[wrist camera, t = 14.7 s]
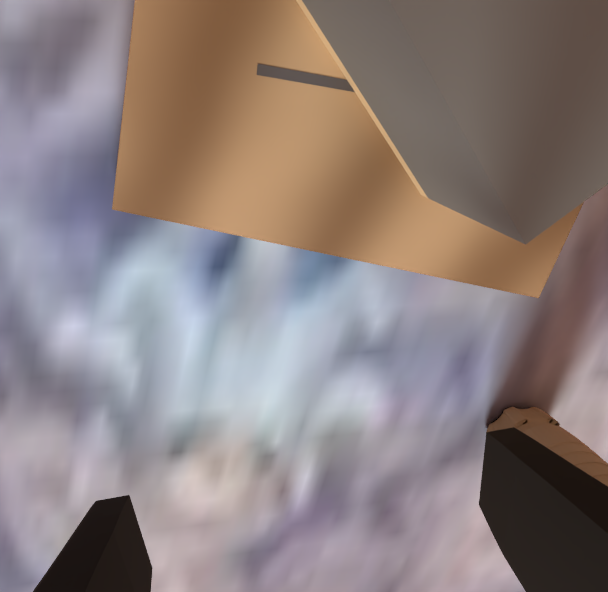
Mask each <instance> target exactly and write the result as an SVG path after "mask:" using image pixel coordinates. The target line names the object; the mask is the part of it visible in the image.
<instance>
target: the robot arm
mask: <svg viewBox="0 0 608 592" xmlns="http://www.w3.org/2000/svg"><path fill="white" fill-rule="evenodd" d="M479 506H480V508H481V510H482V512H483V514H484V516H485V518H486V521H487V523H488V525H489V527H490V529H491V531H492V533H493V535H494V537H495V539H496V541H497V543H498V545H499V547H500V549H501V551H502V553H503V555H504V557H505V558H506V560H507V562H508V563H509V565H510V567H511V568H512V570H513V571H514V573H515V575H516V576H517V578H518V580H519V581H520V583H521V584H522V586H523V588H524V589H525V591H526V592H608V486H606V485H605V484H603V483H601V482H600V481H598V480H597V479H595V478H594V477H592V476H590V475H589V474H587V473H586V472H584V471H583V470H581V469H579V468H578V467H576V466H575V465H573V464H572V463H570V462H568V461H567V460H565V459H564V458H562V457H561V456H559V455H558V454H556V453H554V452H553V451H551V450H550V449H548V448H547V447H545V446H544V445H542V444H540V443H539V442H537V441H536V440H534V439H533V438H531V437H529V436H528V435H526V434H525V433H523V432H521V431H520V430H518V429H516V428H515V427H513V428H507V429H501V430H496V431H490V432H487V433H486V442H485V452H484V461H483V471H482V480H481V490H480V499H479ZM151 578H152V566H151V563H150V559H149V556H148V553H147V550H146V547H145V544H144V540H143V537H142V534H141V531H140V528H139V525H138V521H137V518H136V515H135V512H134V509H133V505H132V502H131V499H130V496H129V495H127V496H122V497H116V498H110V499H105V500H99V501H96V502H95V503H94V504H93V505H92V507H91V508H90V509H89V511H88V512H87V514H86V515H85V517H84V518H83V520H82V521H81V523H80V524H79V526H78V527H77V529H76V530H75V532H74V533H73V534H72V536H71V537H70V539H69V540H68V542H67V543H66V545H65V546H64V548H63V549H62V551H61V552H60V554H59V555H58V556H57V558H56V559H55V561H54V562H53V564H52V565H51V567H50V568H49V569H48V571H47V572H46V574H45V575H44V577H43V578H42V580H41V581H40V582H39V584H38V585H37V587H36V588H35V589H34V591H33V592H151Z"/></svg>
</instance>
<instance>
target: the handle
mask: <svg viewBox="0 0 608 592" xmlns="http://www.w3.org/2000/svg"><path fill="white" fill-rule="evenodd" d="M513 427H515V428H516V429H518V430H520V431H521V432H523V433H525V434H526V435H528V436H529V437H531V438H533V439H534V440H536V441H537V442H539V443H540V444H542V445H544V446H545V447H547V448H548V449H550V450H551V451H553V452H554V453H556V454H558V455H559V456H561V457H562V458H564V459H565V460H567V461H568V462H570V463H572V464H573V465H575V466H576V467H578V468H579V469H581V470H583V471H584V472H586V473H587V474H589V475H590V476H592V477H594V478H595V479H597V480H598V481H600V482H601V483H603V484H605V485H606V486H608V463H606V462H605V461H604V460H603V459H602V458H600V457H599V456H598V455H597V454H596V453H595V452H594V451H592V450H591V449H590V448H589V447H588V446H586V445H585V444H584V443H582V442H581V441H580V440H579V439H577V438H576V437H575V436H573V435H572V434H570V433H569V432H567V431H566V430H564V429H563V428H561V427H559V423H558V422H557V421H556V420H555V419H554V418H552V417H551V416H550V415H549V414H547V413H546V412H544V411H543V410H541V409H539V408H537V407H531V408H528V409H517V408H515V407H510V408H507V409H505V410H504V411H503V413H502V415H501V416H500V417H499V418H498V419H497V420H496V421H495V422H493V423H491V424H489V426H488V429H487V432H490V431H496V430H501V429H507V428H513ZM487 432H486V433H487Z"/></svg>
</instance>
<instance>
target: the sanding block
mask: <svg viewBox="0 0 608 592" xmlns="http://www.w3.org/2000/svg"><path fill="white" fill-rule="evenodd" d="M296 1H297V3H298V4H299V6H300V7H301V9H302V11H303V12H304V14H305V15H306V17H307V18H308V20H309V21H310V23H311V25H312V26H313V28H314V29H315V31H316V32H317V34H318V35H319V37H320V38H321V40H322V42H323V43H324V45H325V46H326V48H327V49H328V51H329V52H330V54H331V56H332V57H333V59H334V60H335V62H336V63H337V65H338V66H339V68H340V70H341V71H342V73H343V74H344V76H345V77H346V79H347V80H348V82H349V84H350V85H351V87H352V88H353V90H354V91H355V93H356V94H357V96H358V98H359V99H360V101H361V102H362V104H363V105H364V107H365V108H366V110H367V112H368V113H369V115H370V116H371V118H372V119H373V121H374V122H375V124H376V126H377V127H378V129H379V130H380V132H381V133H382V135H383V136H384V138H385V140H386V141H387V143H388V144H389V146H390V147H391V149H392V150H393V152H394V154H395V155H396V157H397V158H398V160H399V161H400V163H401V164H402V166H403V168H404V169H405V171H406V172H407V174H408V175H409V177H410V178H411V180H412V182H413V183H414V185H415V186H416V188H417V189H418V191H419V192H420V194H421V195H422V196H424V197H426V198H429V199H431V200H433V201H435V202H437V203H439V204H441V205H443V206H445V207H447V208H450V209H452V210H454V211H456V212H458V213H460V214H462V215H464V216H466V217H469V218H471V219H473V220H475V221H477V222H479V223H481V224H483V225H485V226H487V227H490V228H492V229H494V230H496V231H498V232H500V233H502V234H504V235H506V236H509V237H511V238H513V239H515V240H517V241H519V242H521V243H523V244H525V245H526V244H527V243H529V242H530V241H531V240H533V239H534V238H535V237H537V236H538V235H539V234H541V233H542V232H544V231H545V230H546V229H548V228H549V227H550V226H552V225H553V224H554V223H556V222H557V221H558V220H560V219H561V218H562V217H564V216H565V215H567V214H568V213H569V212H571V211H572V210H573V209H575V208H576V207H577V206H579V205H580V204H581V203H583V202H584V201H585V200H587V199H588V198H590V197H591V196H592V195H594V194H595V193H596V192H598V191H599V190H600V189H602V188H603V187H604V186H606V185H607V184H608V0H296Z"/></svg>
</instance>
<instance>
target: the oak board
mask: <svg viewBox="0 0 608 592" xmlns="http://www.w3.org/2000/svg"><path fill="white" fill-rule="evenodd" d="M583 203H584V202H583ZM583 203H581V204H580V205H579V206H577V207H576V208H575V209H573V210H572V211H571V212H569V213H568V214H567V215H565V216H564V217H562V218H561V219H560V220H558V221H557V222H556V223H554V224H553V225H552V226H550V227H549V228H548V229H546V230H545V231H544V232H542V233H541V234H539V235H538V236H537V237H535V238H534V239H533V240H531V241H530V242H529V243H527V244H526V245H525V244H523V243H521V242H519V241H517V240H515V239H513V238H511V237H509V236H506V235H504V234H502V233H500V232H498V231H496V230H494V229H492V228H490V227H487V226H485V225H483V224H481V223H479V222H477V221H475V220H473V219H471V218H469V217H466V216H464V215H462V214H460V213H458V212H456V211H454V210H452V209H450V208H447V207H445V206H443V205H441V204H439V203H437V202H435V201H433V200H431V199H429V198H426V197H424V196H422V195H421V194H420V192H419V191H418V189H417V188H416V186H415V185H414V183H413V182H412V180H411V178H410V177H409V175H408V174H407V172H406V171H405V169H404V168H403V166H402V164H401V163H400V161H399V160H398V158H397V157H396V155H395V154H394V152H393V150H392V149H391V147H390V146H389V144H388V143H387V141H386V140H385V138H384V136H383V135H382V133H381V132H380V130H379V129H378V127H377V126H376V124H375V122H374V121H373V119H372V118H371V116H370V115H369V113H368V112H367V110H366V108H365V107H364V105H363V104H362V102H361V101H360V99H359V98H358V96H357V94H356V93H355V91H354V90H353V88H352V87H351V85H350V84H349V82H348V80H347V79H346V77H345V76H344V74H343V73H342V71H341V70H340V68H339V66H338V65H337V63H336V62H335V60H334V59H333V57H332V56H331V54H330V52H329V51H328V49H327V48H326V46H325V45H324V43H323V42H322V40H321V38H320V37H319V35H318V34H317V32H316V31H315V29H314V28H313V26H312V25H311V23H310V21H309V20H308V18H307V17H306V15H305V14H304V12H303V11H302V9H301V7H300V6H299V4H298V3H297V1H296V0H135V4H134V13H133V23H132V32H131V41H130V50H129V59H128V69H127V78H126V87H125V96H124V105H123V114H122V124H121V133H120V142H119V151H118V160H117V170H116V179H115V188H114V197H113V206H112V209H113V210H118V211H122V212H127V213H132V214H137V215H142V216H146V217H151V218H156V219H161V220H166V221H171V222H175V223H180V224H185V225H190V226H195V227H199V228H204V229H209V230H214V231H219V232H223V233H228V234H233V235H238V236H243V237H247V238H252V239H257V240H262V241H267V242H271V243H276V244H281V245H286V246H291V247H296V248H300V249H305V250H310V251H315V252H320V253H324V254H329V255H334V256H339V257H344V258H348V259H353V260H358V261H363V262H368V263H372V264H377V265H382V266H387V267H392V268H396V269H401V270H406V271H411V272H416V273H421V274H425V275H430V276H435V277H440V278H445V279H449V280H454V281H459V282H464V283H469V284H473V285H478V286H483V287H488V288H493V289H497V290H502V291H507V292H512V293H517V294H521V295H526V296H531V297H536V298H539V296H540V294H541V292H542V290H543V288H544V286H545V283H546V281H547V279H548V277H549V275H550V273H551V271H552V269H553V266H554V264H555V262H556V260H557V258H558V256H559V254H560V252H561V249H562V247H563V245H564V243H565V241H566V239H567V237H568V235H569V233H570V230H571V228H572V226H573V224H574V222H575V220H576V218H577V216H578V213H579V211H580V209H581V207H582V205H583Z"/></svg>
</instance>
